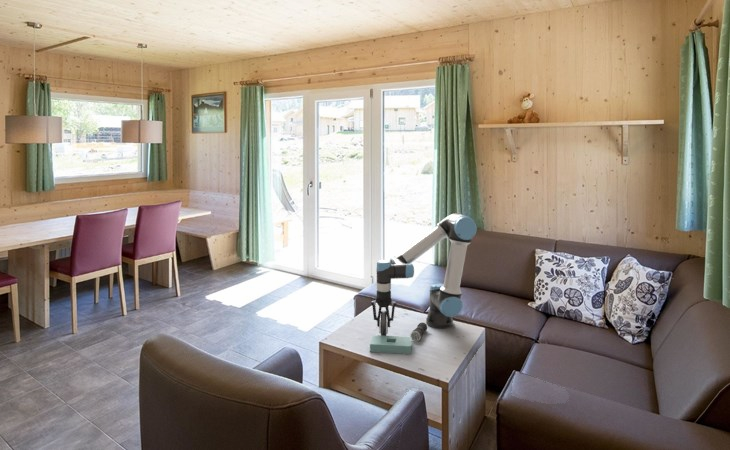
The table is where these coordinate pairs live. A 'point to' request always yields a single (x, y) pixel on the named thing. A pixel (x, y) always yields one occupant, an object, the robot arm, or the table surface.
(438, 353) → the table surface
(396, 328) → the table surface
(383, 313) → the peg
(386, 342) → the hole block
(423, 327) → the flashlight
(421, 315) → the table surface
